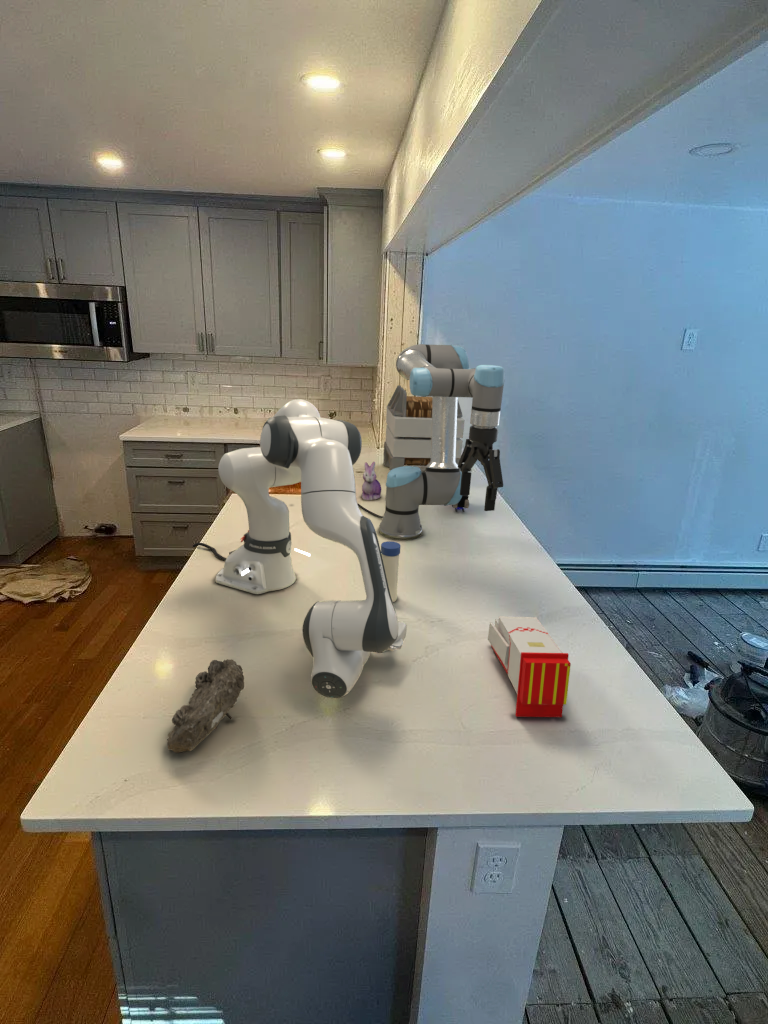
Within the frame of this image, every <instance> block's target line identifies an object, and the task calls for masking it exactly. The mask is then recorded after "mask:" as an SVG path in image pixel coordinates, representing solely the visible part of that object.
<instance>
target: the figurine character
mask: <svg viewBox="0 0 768 1024" xmlns="http://www.w3.org/2000/svg"><path fill="white" fill-rule="evenodd" d="M469 498H470V495H462V498H461V499H460V501H459V502H458V503H457V504H455V505H451V507H452V508H453V509H454V511H455V512H456V513H458V510H461V511H462V513H465V509H469V506H470V500H469Z"/></svg>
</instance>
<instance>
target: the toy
mask: <svg viewBox="0 0 768 1024" xmlns="http://www.w3.org/2000/svg"><path fill="white" fill-rule="evenodd" d="M488 625H489V627H488V633H487V641H488V642H489V644H490V646H491V647H490V648H491V649H492V650H493V652H494V654H495V656H496V658H497V659H498V660H499V662H500V664H501V666H502V668H503V669H504V671H505V673H506V674H507V676H508V678H509V680H510V682H511V685H512V686H513V689H514V690H515V693H516V704H515V717H516V718H517V717H518V718H519V717H520V718H521V717H522V718H563V710H564V705H567V701H568V692H569V685H570V684H569V683H570V676H571V675H570V674H571V666H572V664H571V661H570V660H569V655H570V654H569V653H568V652H563V651H562V649H561V648H560V647H559V646H558V644H557V643H556V642H555V640H554V639H553V638H552V636H551V635H550V634H549V632H548V631H547V629H546V628H545V627H544V626H543V624H542V622H541V621H540V620H539V619H538V618H537V616H498V618H496V619H494V623H493V622H489V624H488Z"/></svg>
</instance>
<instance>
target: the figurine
mask: <svg viewBox="0 0 768 1024" xmlns="http://www.w3.org/2000/svg"><path fill="white" fill-rule="evenodd" d="M375 468H376V461H372V463H371V464H370V465H369V464H368V462H367V461H366V462H364V472H363V474H362V479H363V483H362V485H361V491H362V493H361V498H362V500H364V501H365V500H366V501H373V500H377V499H380V498H381V497H382V496H381V495H382V486H381V483H380V481H379V480H378V479H377V474H376V471H375Z"/></svg>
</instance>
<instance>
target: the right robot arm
mask: <svg viewBox="0 0 768 1024" xmlns="http://www.w3.org/2000/svg"><path fill="white" fill-rule="evenodd" d="M395 368H396V371H397V373H398V374H399V376H400V377H402V379H405V380H407V381H409V390H410V394H411V395H412V396H415V397H417V396H418V397H432V428H431V460H430V463H429V464H428V465H427V466H425V471H422V469H421V467H420V466H407V465H404V466H402V467H397V468H394V469H392V470H391V471H390V470H388V473H387V475H386V480H385V481H386V482H385V487H386V488H385V504H384V505H385V507H384V508H385V509H384V513H383V515H380V514H376V513H375V512H373V511H370V510H369V509H367V508H365V507H364V506H362V505H361V504H359V503H358V502H357V504H358V507H359V508H360V509H362V510H363V511H365V512H367V513H369V514H371V515H373V516H375V517H377V518H379V519H381V522H379V525H378V533H379V534H380V535H381V536H382V537H385V538H387V539H389V540H395V541H410V540H415V539H418V538H420V537H421V536H422V535H423V525H422V524H421V518H420V515H419V507H420V506H452V505H455V504H457V503H458V502H459V501H460V499H461V498H462V495H468V496H470V491H471V481H472V469H473V467H474V466H475V464H476V463H477V461H478V462H480V465H482V468H483V470H484V474H485V478H486V481H487V485H486V490H485V498H484V507H483V511H484V512H492V511H495V510H496V501H497V496H498V495H497V494H498V489H499V488H503V487H504V479H503V473H502V466H501V458H500V457H501V456H500V455H501V450H500V448H497V449H495V448H494V446H493V445H494V444H495V443H496V442H498V439H499V430H500V429H499V428H498V426H500V419H501V418H500V417H501V410H502V402H503V401H502V400H503V394H504V385H505V382H506V379H505V373H506V370H505V368H504V367H503V366H501V365H495V364H494V365H493V364H479V365H477V366H476V367H470V361H469V356H468V353H467V350H466V349H465V348H464V347H463V346H461V345H455V344H454V345H453V344H424V343H419V344H414V345H410V346H408V347H405V348H404V349H403V350H402V351H400V352H399V354H398V356H397V358H396V362H395ZM459 398H472V399H471V401H472V403H471V409H470V410H471V411H470V420H469V423H470V426H469V433H468V438H466V439H465V444H464V448H463V449H462V453H461V458H460V460H459V463H458V465H457V464H456V462H455V456H456V429H457V402H459ZM459 468H460V470H461V471H459Z"/></svg>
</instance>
